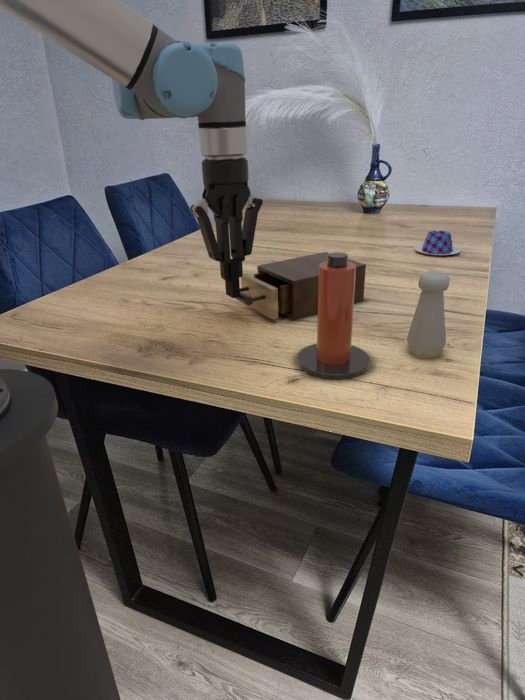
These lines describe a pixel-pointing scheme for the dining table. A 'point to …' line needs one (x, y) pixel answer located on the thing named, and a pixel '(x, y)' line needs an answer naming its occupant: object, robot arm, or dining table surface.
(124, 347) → the dining table surface
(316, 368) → the coaster
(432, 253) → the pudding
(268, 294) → the drawer
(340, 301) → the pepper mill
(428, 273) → the salt shaker
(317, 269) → the cabinet
